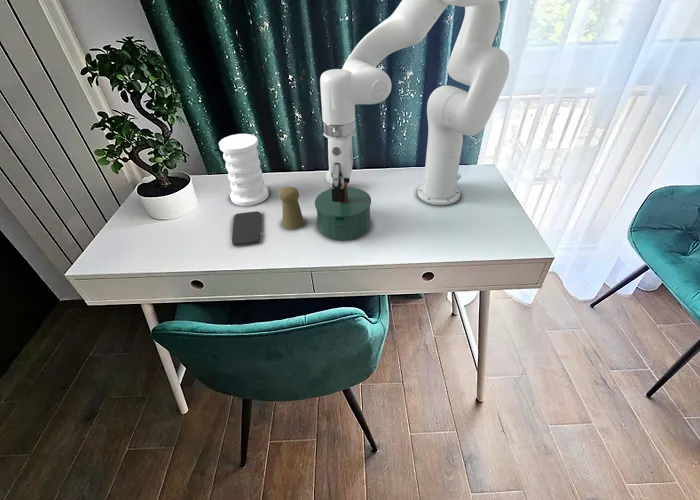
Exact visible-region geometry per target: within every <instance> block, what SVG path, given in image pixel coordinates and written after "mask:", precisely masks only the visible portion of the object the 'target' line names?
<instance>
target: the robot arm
mask: <svg viewBox="0 0 700 500" xmlns="http://www.w3.org/2000/svg"><path fill="white" fill-rule="evenodd" d="M503 1H505V0H401V1H400V2H399V4H398V6H397V7H396V8H395V10H393V12H392V14H391V15H390V16H388V17H387V18H386V19H384V20H383V21H381V22H380V23H379V24H377V26H375V27H374V28H373V29H372V30H370V31H369V32H368V33H367V34H365V36H363V37H362V39H361V40H360V41H359V42H358V43H357V44H356V46H355V47H354V48H353V50H352V51H351V52H350V54H349V55H348V57H347V58H346V60H345V62H344V63H343V66H342V68H332V69H327V70H326V71H323V72H322V73H321V75H320V77H319V85H320V86H319V87H320V102H321V116H322V117H321V118H322V134H323V137H325V138H327V155H328V159H327V160H328V171H329V173H330V177H331V178H332V201H333V202H345V187H344V182H347V183H348V184H349V183H350V182H351V181H350V179H351V174H352V170H353V165H354V154H353V153H354V150H353V137H354V136H355V135H356V105H376V104H380V103H383V102H384V101H385V100H386V99H387V98H388V97H389V95H390V94H391V92H392V87H393V86H392V80H391V78H390V76H389V74H388V73H386V71H384V70H382V69H380V68H379V67H378V65H379V64H380V63H382V61H383V60H384V59H386V58H387V57H388V56H390V55H391V54H393V53H395V52H397V51H399V50H403V49H406V48H410V47H413V46H415V45H417V44H419V43H421V42H423V40H424V38H425V37H426V35H427V34H428V33H429V31H430V30H431V29H432V27H433V26H434V25H435V23H436V22H437V21H438V19H439V18H440V17H441V16H442V13H443V12H444V11H445V10H446V9H447V7H448V6H449V5H450V6H455V7H462V8H464V17H463V21H462V24H461V27H460V29H459V32H458V35H457V37H456V41H455V42H454V46H453V49H452V51H451V55H450V56H449V59H448V61H447V62H448V63H447V69H446V70H447V74H448V76H449V77H450V78H451V79H452V80H454V81H456V82H458V83H460V84H463V85H466V86H468V87H469V89H468V91H466V90H464V89H461V88H459V87H456V86H454V85H453V86H452V85H442V86H441V85H440V86H438V87H437V88H435V89H434V90H433V91H432V92H431V93H430V95H429V97H428V100H427V104H426V116H427V145H426V152H425V153H426V155H425V165H424V177H423V184H421V185H420V186H419V187H418V189H417V196H418V198H419V199H420V200H421V201H423V202H424V203H427V204H430V205H434V206H447V205H448V206H449V205H453V204H454V203H456V202H458V201H459V199H460V197H461V191H460V189H459V188H458V187H457V182H458V181H459V180H460V179H461V178H462V175H461V174H460V173H459V169H460V168H459V167H460V163H461V162H460V161H461V154H462V150H463V149H462V148H463V141H464V139H463V138H464V137H463V136H467V137H473V136H476V135H477V134H479V133H481V131H482V130H483V129H484V128H485V127H486V126H487V124H488V122H489V120H490V118H491V116H492V114H493V111H494V109H495V107H496V105H497V103H498V101H499V98H500V96H501V94H502V92H503V90H504V87H505V85H506V82H507V80H508V77H509V73H510V59H509V56H508V54H507V53H506V52H505V51H504V50H503V49H501V48H498V47H496V46H493V43H494V41H495V37H496V35H497V33H498V30H499V26H500V23H501V6H500V2H503ZM340 182H341V183H340Z"/></svg>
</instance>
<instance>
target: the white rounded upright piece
mask: <svg viewBox="0 0 700 500" xmlns="http://www.w3.org/2000/svg"><path fill="white" fill-rule="evenodd" d="M324 181H325V184H326V185H327V187H328V189H331V188H332V178H331V177H330V173H329V170H327V172H326V174H325V178H324Z"/></svg>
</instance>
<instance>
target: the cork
mask: <svg viewBox="0 0 700 500" xmlns="http://www.w3.org/2000/svg"><path fill="white" fill-rule="evenodd" d="M299 198H300V192H299V189H297V187H295V186H290V185H289V186H284V187H282V188H281V189H280V191H279V199H280V201H281V202H282V203H281V204H282V205H281V206H282V227H283V228H285V229H287V230H297V229H300V228H301V227H303V226H304V224H305V220H304V217H303V213H302V210H301V206H300V203H299Z"/></svg>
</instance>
